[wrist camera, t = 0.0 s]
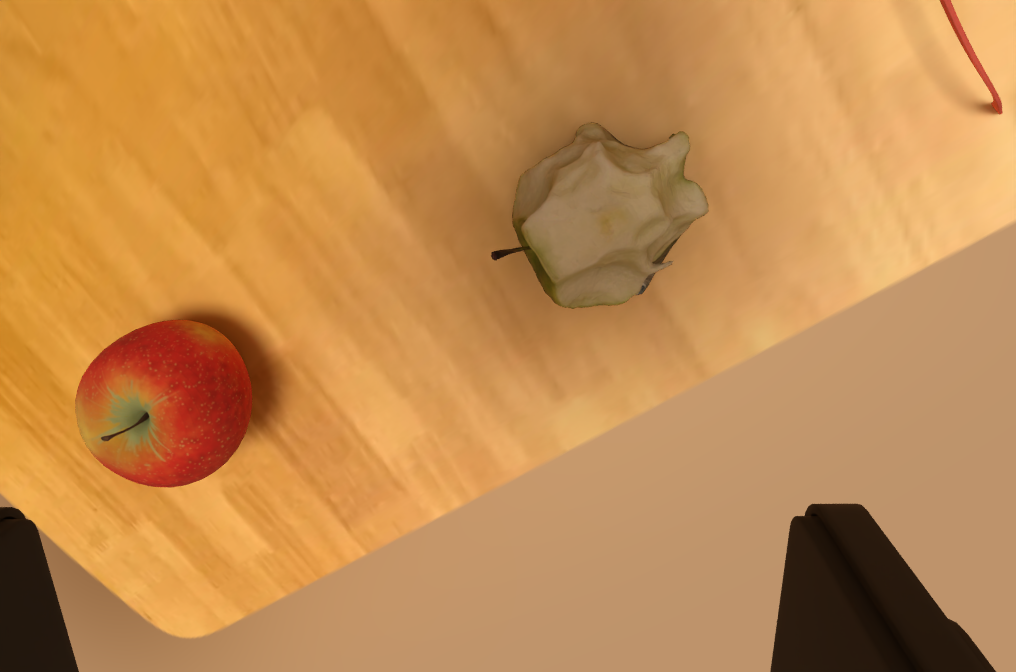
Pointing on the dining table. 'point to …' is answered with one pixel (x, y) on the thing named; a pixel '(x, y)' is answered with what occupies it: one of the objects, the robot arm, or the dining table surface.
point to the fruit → (603, 216)
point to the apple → (165, 403)
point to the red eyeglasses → (970, 51)
